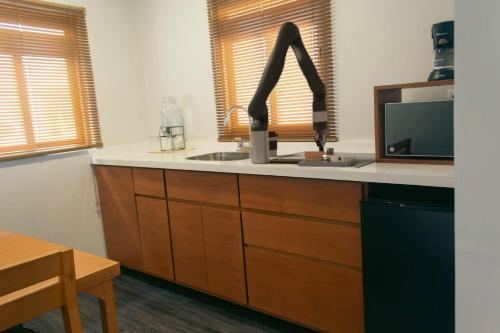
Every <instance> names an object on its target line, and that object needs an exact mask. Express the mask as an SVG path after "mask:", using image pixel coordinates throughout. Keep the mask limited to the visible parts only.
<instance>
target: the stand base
mask: <svg viewBox="0 0 500 333" xmlns="http://www.w3.org/2000/svg"><path fill="white" fill-rule="evenodd" d="M297 162H298V163H297V167H320V168H322V167H325V168H326V167H328V168H329V167H334V168H335V167H336V168H337V167H338V168H339V167H340V168H341V167H342V168H348V167H349V166H351V165H352V164H354V163H357V157H356V156H354V157H353V156H352V157H351V156H350V157H346V156H345V154H339V155H331V159H329V160H327V159H305V158H304V159H303V160H301V161H297Z"/></svg>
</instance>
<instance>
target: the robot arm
mask: <svg viewBox="0 0 500 333" xmlns="http://www.w3.org/2000/svg"><path fill="white" fill-rule="evenodd" d="M289 48H291V49H292V51H293V53H294V55H295V58H296V62H297V64H298V67H299V69H300V71H301V72H302V75H303V77H304V78H305V80H306V82H307V85H308V88H309V90H310V91H311V92H312V103H311V104H312V105H311V108H312V115H311V119H312V130H313V131H315V137H314V141H315V144H316V147H318V151H325V146H326V144H327V139H328V138H327V137H328V136H327V134H326V130H328V129H329V127H328V123H329V122H328V113H327V102H326V101H327V100H326V99H327V87H326V83H325V82H323V80H322V79H321V77H320V74H319V72H318V69H317V67H316V65H315V63H314V61H313V59H312V57H311V56H310V53H309V52H308V50H307V48H306V46H305V44H304V42H303V39H302V35H301V33H300V29H299V26H298V25H296V24H295V23H294V22H292V21H289V20H288V21H285V22H283V23H282V24H281V25H280V27H279V29H278V32H277V37H276V40H275V43H274V46H273V48H272V50H271V52H270V55H269V57H268V59H267V62H266V64H265V66H264V69H263V71H262V74H261V77H260V80H259V82H258V85H257V87H256V90H255V92H254V94H253V97H252V98H251V100H250V101H249V104H248V106H247V114H248V116H249V117H250V118H251V121H252V122H251V126H250V136H251V137H250V138H251V145H250V158H251V164H267V163H270V162H271V161H270V160H271V157H270V155H269V139H268V132H269V123H270V122H269V118H270V117H269V108H268V104H267V100H268V98H269V96H270V94H271V93H272V91H273V90H274V88H275V87H277V86H276V85H278V83H279V81H280V80H281V76H282V74H283V71H284V68H285V65H286V64H285V63H286V59H287V58H286V57H287V54H288V52H289Z"/></svg>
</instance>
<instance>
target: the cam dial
mask: <svg viewBox="0 0 500 333" xmlns="http://www.w3.org/2000/svg"><path fill="white" fill-rule="evenodd" d="M325 152H326V153H325ZM331 155H340V154H339V153H338V152H337V153H336V152H335V149H334V147H326V151H325V150H324V151H319V150H317V151H315V150H313V151H312V150H310V151H304V160H305V159H327V160H329V159H331Z"/></svg>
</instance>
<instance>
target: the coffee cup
mask: <svg viewBox="0 0 500 333" xmlns="http://www.w3.org/2000/svg"><path fill="white" fill-rule="evenodd" d="M278 137H279V134H278V133H276V131H271V130H270V131H269V130H268V139H269V155H270V158H276V157H277V156H278Z"/></svg>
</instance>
